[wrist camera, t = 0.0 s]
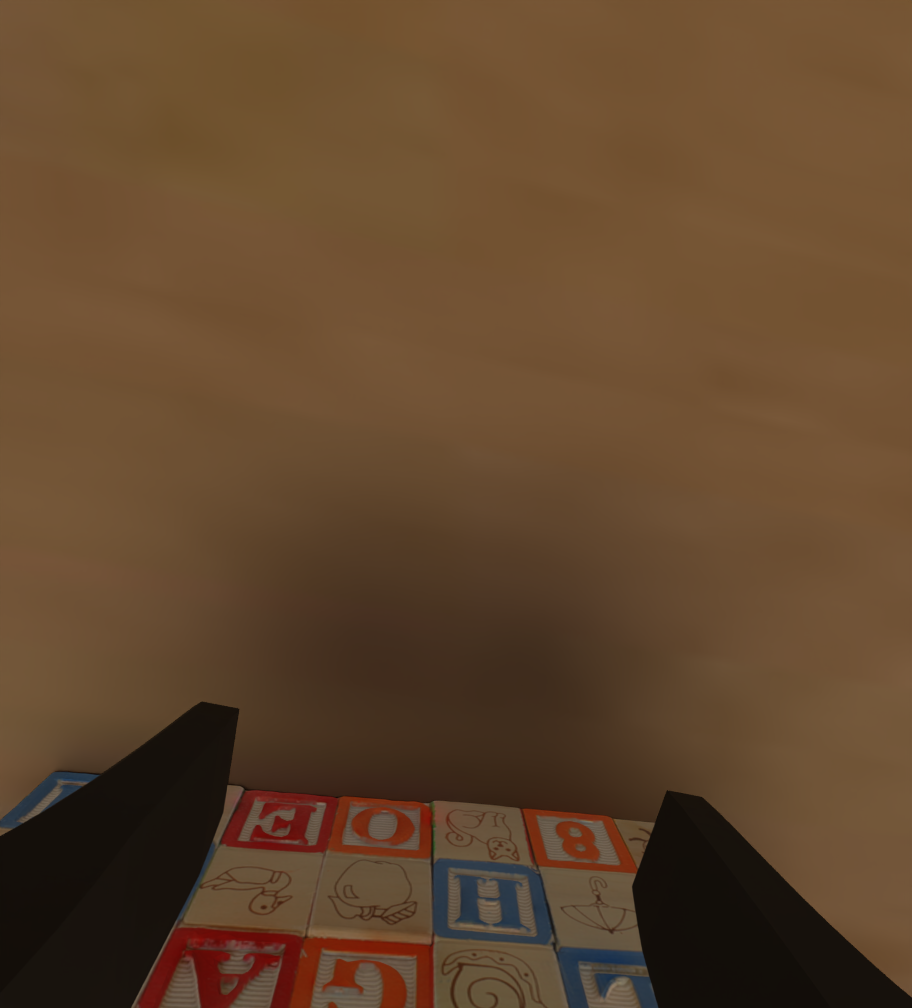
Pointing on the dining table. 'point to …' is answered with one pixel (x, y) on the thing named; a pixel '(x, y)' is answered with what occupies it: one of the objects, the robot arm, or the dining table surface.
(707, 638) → the dining table surface
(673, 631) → the dining table surface
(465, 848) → the stack of blocks
